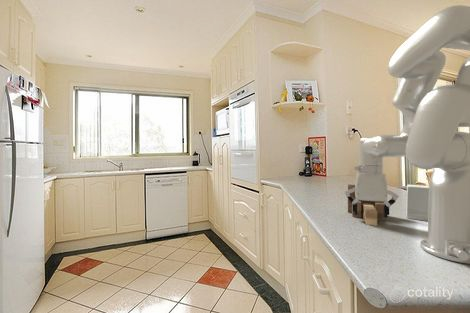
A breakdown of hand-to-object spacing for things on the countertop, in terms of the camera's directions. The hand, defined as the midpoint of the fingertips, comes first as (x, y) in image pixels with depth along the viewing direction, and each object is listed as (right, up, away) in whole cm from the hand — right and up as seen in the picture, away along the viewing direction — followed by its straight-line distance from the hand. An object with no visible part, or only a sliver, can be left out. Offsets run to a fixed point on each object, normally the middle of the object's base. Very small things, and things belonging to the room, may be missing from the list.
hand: (370, 215), depth 84 cm
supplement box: (+22, -2, +5) cm, 22 cm away
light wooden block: (+1, -2, +2) cm, 3 cm away
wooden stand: (+3, -2, +7) cm, 7 cm away
